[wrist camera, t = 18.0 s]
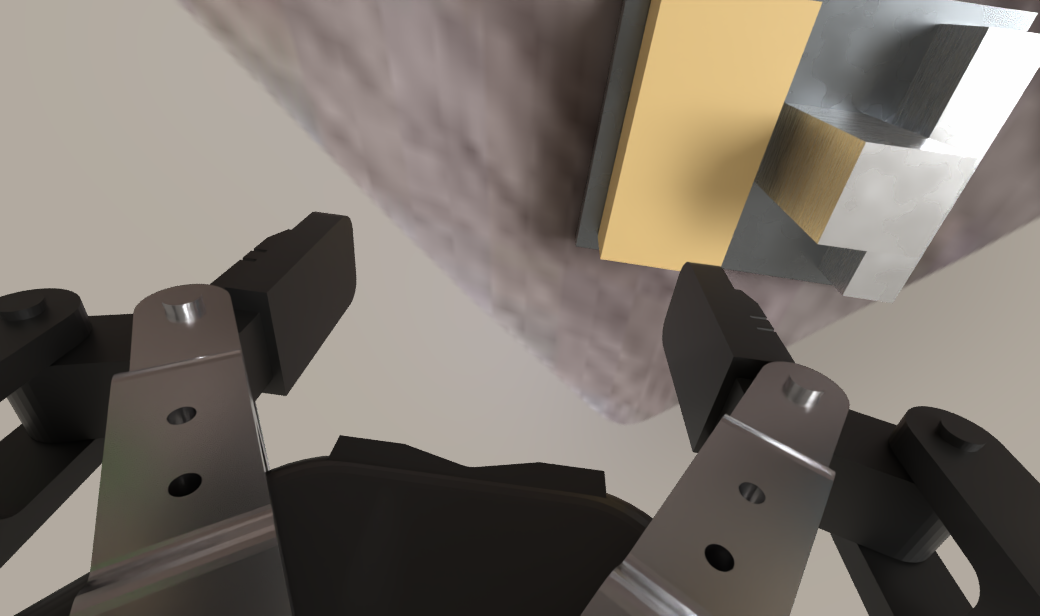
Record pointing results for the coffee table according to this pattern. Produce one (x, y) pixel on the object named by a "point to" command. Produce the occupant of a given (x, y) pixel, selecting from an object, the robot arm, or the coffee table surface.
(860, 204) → the steel block
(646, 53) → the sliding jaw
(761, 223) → the vise base
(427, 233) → the coffee table surface
